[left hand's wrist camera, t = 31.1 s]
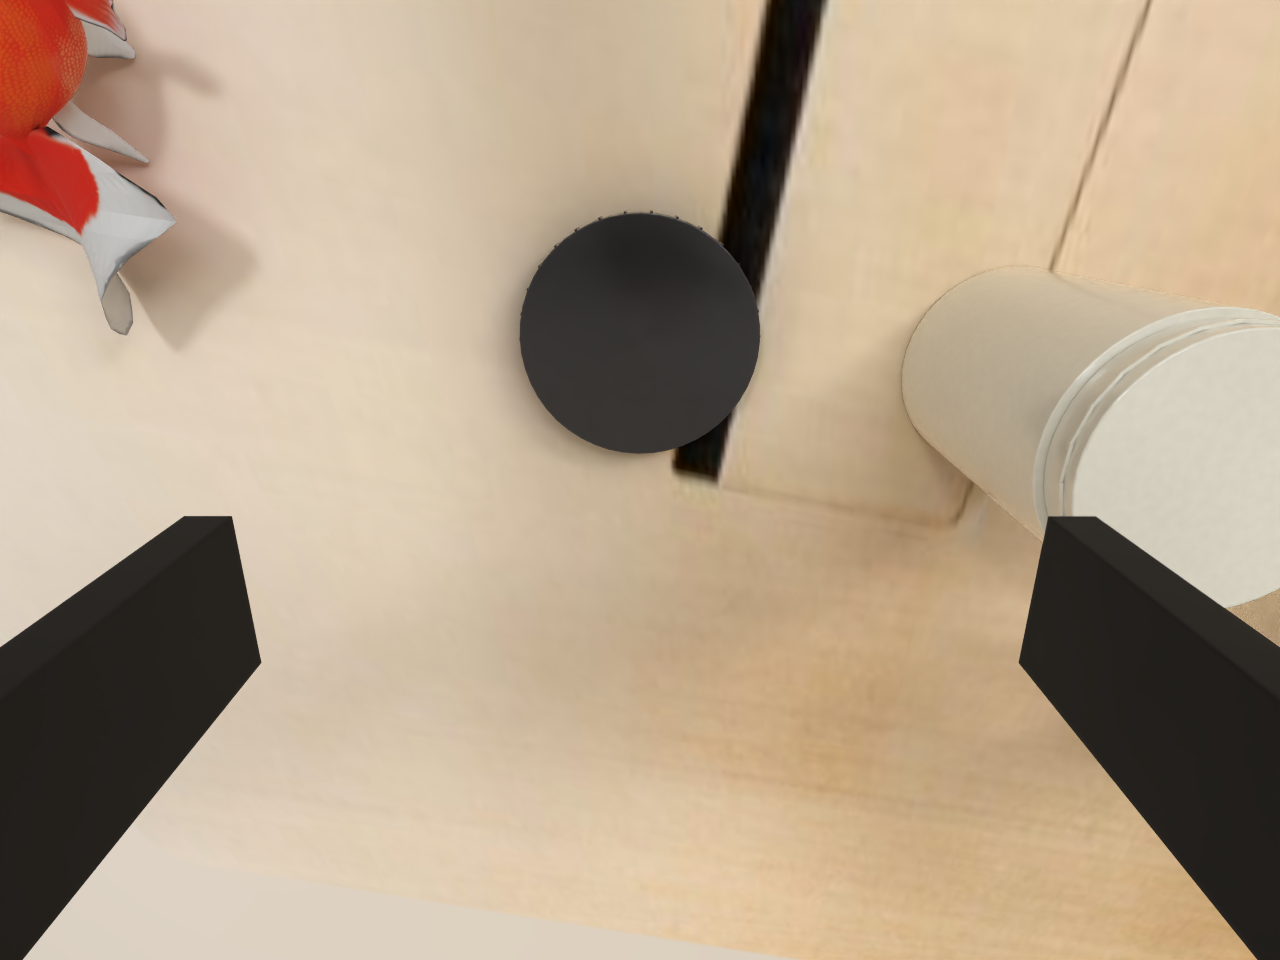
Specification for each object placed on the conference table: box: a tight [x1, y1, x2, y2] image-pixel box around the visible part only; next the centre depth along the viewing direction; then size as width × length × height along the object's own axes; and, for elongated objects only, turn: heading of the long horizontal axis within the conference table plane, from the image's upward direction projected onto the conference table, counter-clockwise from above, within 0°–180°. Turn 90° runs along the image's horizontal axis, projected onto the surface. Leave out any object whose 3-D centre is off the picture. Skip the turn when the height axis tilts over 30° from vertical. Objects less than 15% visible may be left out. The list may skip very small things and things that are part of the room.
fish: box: [0, 0, 177, 335], centre depth 30 cm, size 11×16×10 cm
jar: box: [902, 266, 1280, 608], centre depth 31 cm, size 10×10×15 cm
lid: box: [520, 210, 760, 454], centre depth 36 cm, size 11×11×2 cm
